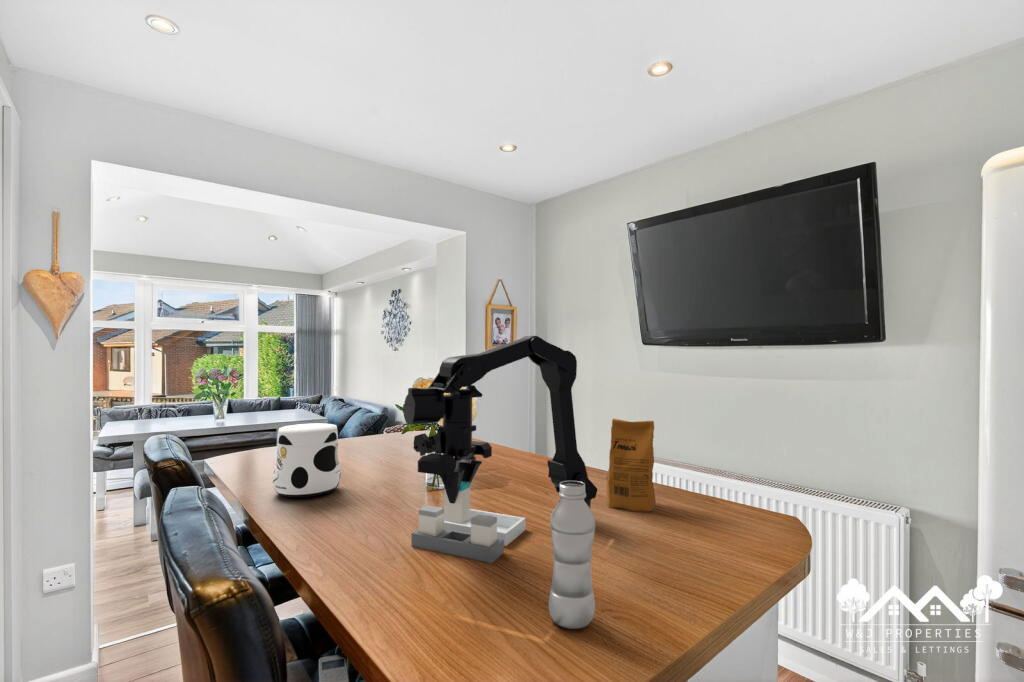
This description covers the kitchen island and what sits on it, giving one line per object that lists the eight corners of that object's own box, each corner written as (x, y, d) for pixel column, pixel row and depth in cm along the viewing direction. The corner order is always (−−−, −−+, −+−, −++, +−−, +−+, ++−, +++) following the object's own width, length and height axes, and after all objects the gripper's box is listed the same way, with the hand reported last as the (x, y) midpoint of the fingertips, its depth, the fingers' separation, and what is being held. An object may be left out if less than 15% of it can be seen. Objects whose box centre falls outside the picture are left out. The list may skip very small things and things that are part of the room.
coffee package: (610, 497, 131) (610, 415, 131) (657, 503, 126) (657, 418, 126) (602, 507, 121) (602, 420, 122) (653, 514, 116) (652, 423, 117)
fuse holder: (503, 555, 93) (503, 539, 93) (491, 565, 88) (491, 549, 88) (426, 539, 100) (426, 524, 100) (411, 548, 96) (411, 533, 96)
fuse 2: (496, 553, 92) (496, 516, 92) (489, 559, 89) (489, 521, 90) (478, 550, 94) (478, 513, 94) (470, 555, 91) (471, 518, 91)
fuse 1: (443, 542, 97) (444, 508, 97) (435, 548, 95) (435, 512, 95) (427, 539, 99) (427, 505, 99) (418, 544, 96) (418, 509, 96)
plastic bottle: (547, 610, 73) (547, 477, 74) (592, 611, 73) (592, 478, 73) (549, 635, 67) (549, 489, 67) (598, 636, 66) (598, 490, 67)
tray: (525, 531, 105) (525, 517, 105) (505, 548, 96) (505, 533, 96) (462, 520, 112) (462, 507, 112) (438, 535, 103) (438, 521, 103)
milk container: (259, 494, 131) (260, 428, 131) (317, 481, 145) (318, 421, 146) (295, 506, 121) (296, 434, 122) (353, 490, 135) (354, 426, 136)
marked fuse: (469, 518, 95) (469, 482, 95) (461, 522, 92) (461, 486, 92) (452, 514, 97) (452, 479, 97) (443, 519, 94) (444, 483, 94)
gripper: (448, 413, 107) (447, 484, 106) (394, 424, 90) (393, 508, 89) (493, 416, 102) (492, 490, 102) (444, 428, 85) (444, 517, 85)
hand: (456, 500), depth 94 cm, fingers closed on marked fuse, 3 cm apart
